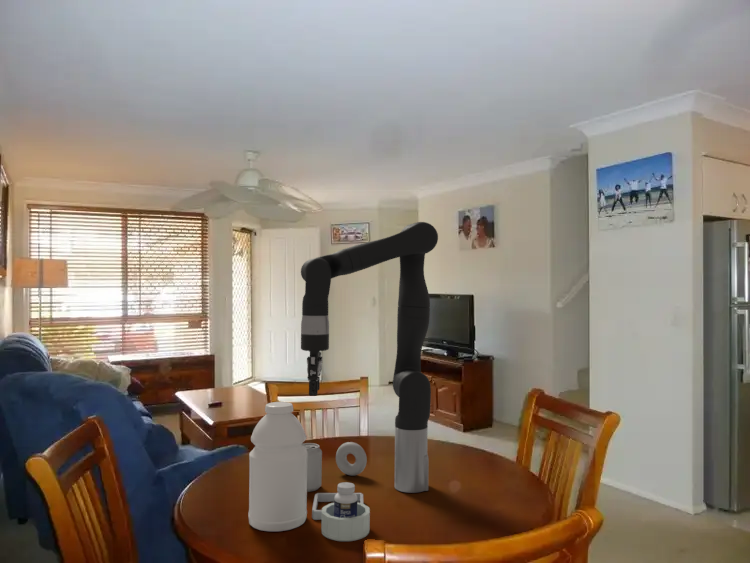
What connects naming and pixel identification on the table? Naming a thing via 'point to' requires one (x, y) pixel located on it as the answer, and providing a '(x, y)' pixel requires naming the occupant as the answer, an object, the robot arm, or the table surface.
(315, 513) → the tray
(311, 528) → the table surface
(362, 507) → the bowl
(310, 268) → the robot arm
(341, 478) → the table surface
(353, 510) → the pill bottle
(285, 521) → the bottle
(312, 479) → the can
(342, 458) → the donut
